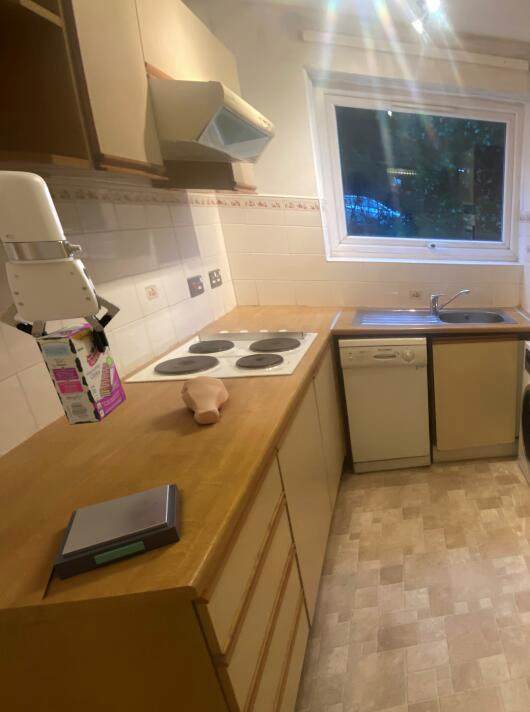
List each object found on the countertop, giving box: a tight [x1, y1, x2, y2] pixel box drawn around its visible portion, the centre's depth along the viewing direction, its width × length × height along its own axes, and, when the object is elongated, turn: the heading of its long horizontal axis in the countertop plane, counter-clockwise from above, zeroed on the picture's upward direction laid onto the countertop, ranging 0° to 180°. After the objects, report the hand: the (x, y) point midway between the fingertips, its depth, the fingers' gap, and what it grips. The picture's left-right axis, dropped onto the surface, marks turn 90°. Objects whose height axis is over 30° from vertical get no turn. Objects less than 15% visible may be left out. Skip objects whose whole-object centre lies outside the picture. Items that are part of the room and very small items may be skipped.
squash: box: [180, 375, 230, 425], centre depth 120 cm, size 11×20×9 cm, turn 37°
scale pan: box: [62, 484, 170, 558], centre depth 75 cm, size 13×13×1 cm
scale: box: [53, 483, 181, 580], centre depth 76 cm, size 15×16×3 cm
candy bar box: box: [34, 322, 127, 426], centre depth 81 cm, size 11×5×16 cm, turn 20°
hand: (78, 353), depth 80 cm, fingers closed on candy bar box, 6 cm apart
